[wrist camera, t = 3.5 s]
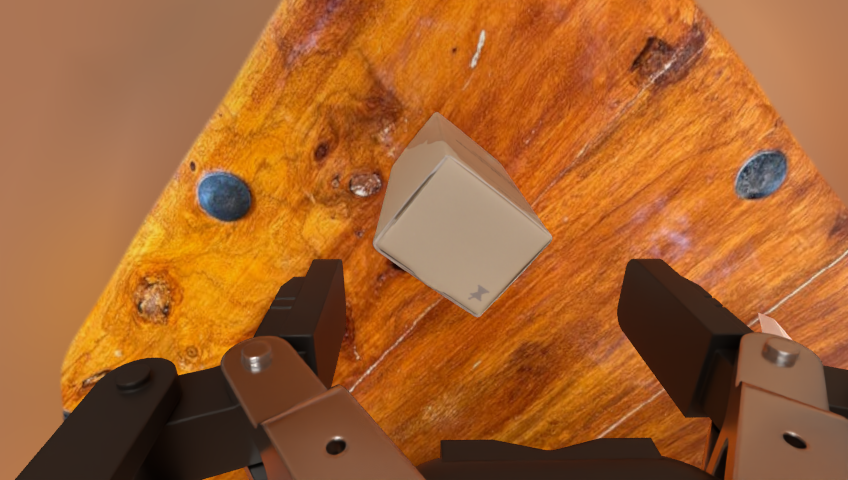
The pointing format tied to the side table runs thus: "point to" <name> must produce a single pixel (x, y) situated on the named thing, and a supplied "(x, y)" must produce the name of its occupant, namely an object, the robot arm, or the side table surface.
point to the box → (457, 218)
